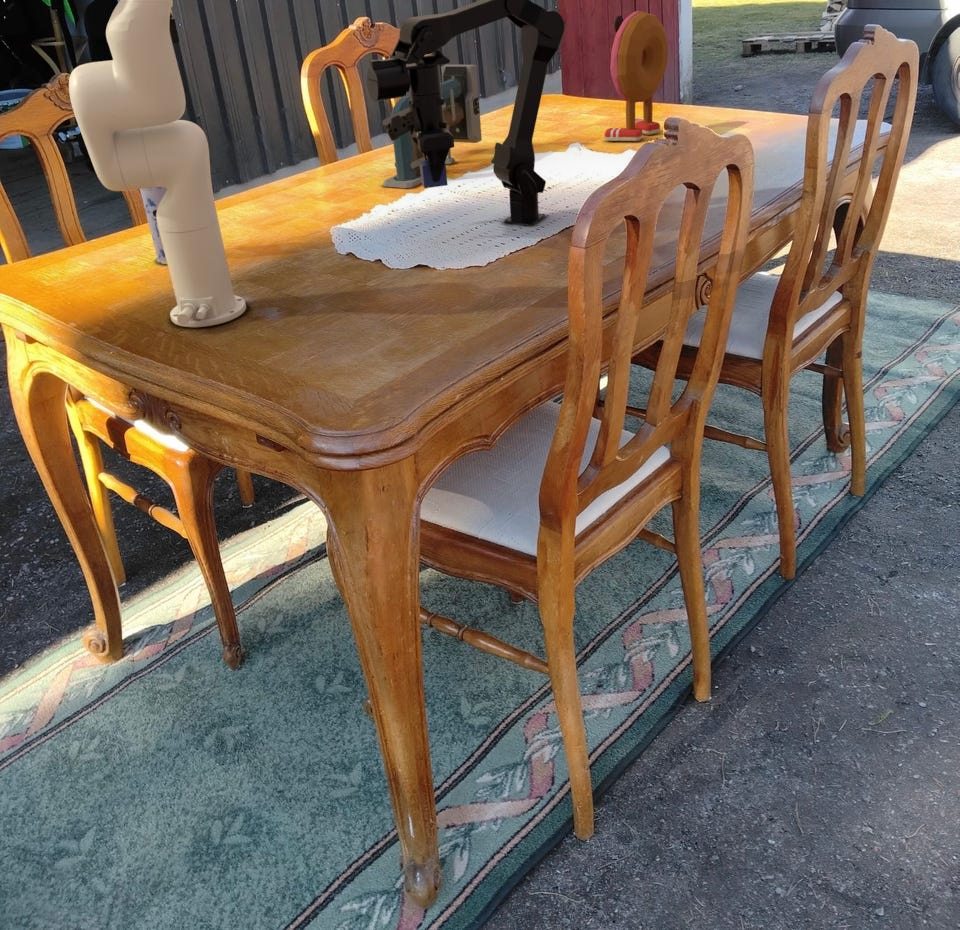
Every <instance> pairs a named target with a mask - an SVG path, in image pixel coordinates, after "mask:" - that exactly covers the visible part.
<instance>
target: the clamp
mask: <svg viewBox="0 0 960 930" xmlns="http://www.w3.org/2000/svg"><path fill="white" fill-rule="evenodd" d="M440 66H441V67H440V68H441V78H442V82H440V83H441V94H442V98H443V99H444V105H443V115H444V121H445V122H446V128H445V129H446V130H448V131H449V132H450V133H451V134H452V135H453V137H454V143H467V144H468V143H469V144H477V143H479V142H481V141H482V140H483V139H482V124H481V111H480V110H481V109H480V98H479V95H480V94H479V82H478V67H477V64H443V65H440ZM409 98H411V96H410V94H408V95H407V94H406V95H405V96H404V97H399V99H398V100H397V101H396V103H395V104H394V106H393V107H392V109H391V114H390V116H392V115H394V114H396V113H398V112H400V111H402V110H404V109H406V108H408V107H409V104H408V100H410V99H409ZM442 129H444V128H442ZM412 137H416V132H414V131H413V134H411V135H410V134H409V132H407V133H405V134H403V135H401V136H399V138H398V139H396V140H393V141H392V145H393V153H394V161H395V162H394V166H395V170H396V174H394V175H392V176H391V177H389V178H386V179H384V180H383V183H382V187H386V188H387V187H389V188H402V189H409V188H415V187H417V186H418V185H421V184H422V182H421V173H420V164H419V161H425V158H424V155H423V153H422V152H421V151H419V149H418V145H417V144H416V143H415V142H414V141H413V140H412ZM455 162H456V159H455V158H454V157H452V154H451V148H450V149H449V152H448V155H447V158H446V161H445V163H446V165H452V164H454V163H455Z"/></svg>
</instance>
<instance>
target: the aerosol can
mask: <svg viewBox="0 0 960 930" xmlns="http://www.w3.org/2000/svg"><path fill="white" fill-rule="evenodd" d="M166 191H167V188H165V187H152V188H144V189H139V192H140V196H141V199H142V203H143V207H144V211H145V215H146V219H147V223H148V227H149V232H150V235H151V239H152V243H153V247H154V251H155V255H156V262H157V263H158V264H162V265H168V264H167V260H166V256H165V252H164V248H163V244H162V240H161V236H160V232H159V229H158V225H157V220H156V213H157V208H158V205H159V203H160V201H161V200H162V198H163V196H164V195H165V193H166Z"/></svg>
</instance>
